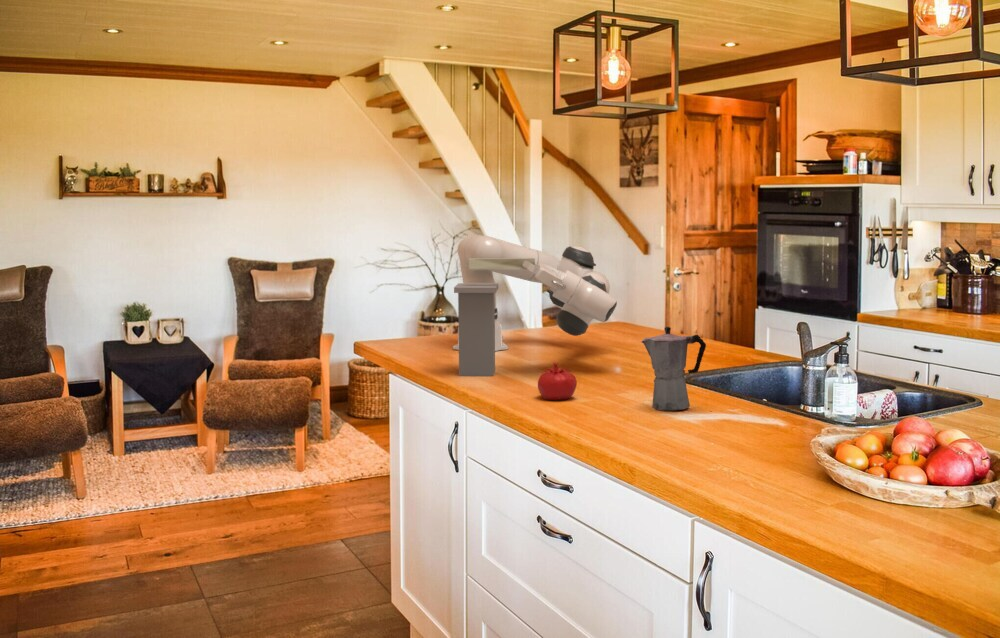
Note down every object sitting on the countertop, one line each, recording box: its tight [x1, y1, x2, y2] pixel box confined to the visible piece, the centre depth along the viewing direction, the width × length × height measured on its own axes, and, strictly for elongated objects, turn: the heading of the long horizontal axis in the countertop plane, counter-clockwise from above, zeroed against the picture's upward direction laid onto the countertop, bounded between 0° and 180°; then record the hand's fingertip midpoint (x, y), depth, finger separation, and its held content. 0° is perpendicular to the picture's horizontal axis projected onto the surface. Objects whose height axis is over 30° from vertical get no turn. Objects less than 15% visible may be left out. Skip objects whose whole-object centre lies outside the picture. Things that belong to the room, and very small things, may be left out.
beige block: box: [469, 258, 535, 270], centre depth 273 cm, size 4×19×3 cm, turn 88°
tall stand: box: [453, 282, 499, 377], centre depth 276 cm, size 14×12×26 cm
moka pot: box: [640, 326, 707, 412], centre depth 229 cm, size 10×15×20 cm, turn 85°
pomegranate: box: [537, 362, 578, 401], centre depth 241 cm, size 10×10×9 cm
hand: (523, 262), depth 273 cm, fingers closed on beige block, 3 cm apart
